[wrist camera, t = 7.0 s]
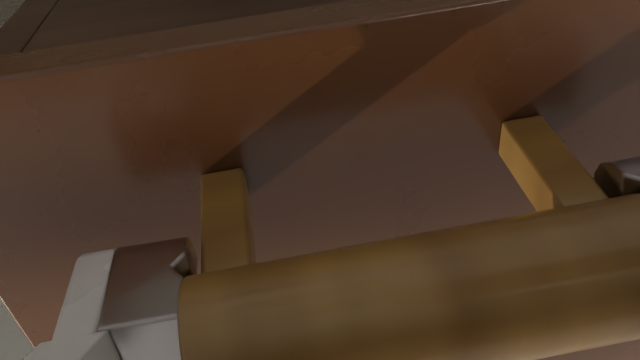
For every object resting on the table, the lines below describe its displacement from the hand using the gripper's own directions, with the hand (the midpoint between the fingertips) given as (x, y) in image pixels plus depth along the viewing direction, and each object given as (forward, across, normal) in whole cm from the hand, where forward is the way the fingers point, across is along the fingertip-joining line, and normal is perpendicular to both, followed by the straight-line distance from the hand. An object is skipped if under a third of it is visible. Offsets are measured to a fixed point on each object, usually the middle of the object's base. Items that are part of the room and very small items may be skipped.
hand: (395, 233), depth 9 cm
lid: (+3, 0, +6) cm, 7 cm away
